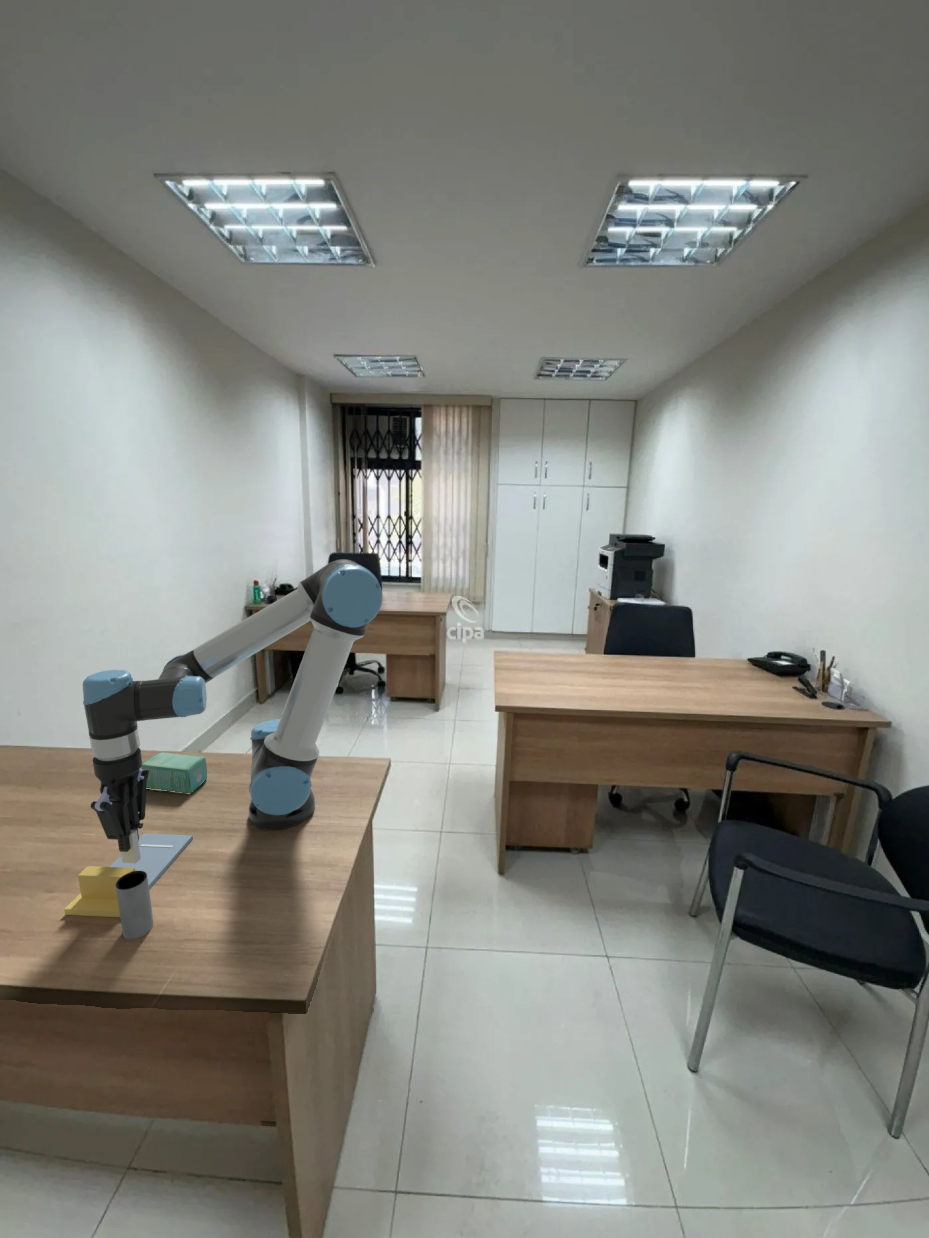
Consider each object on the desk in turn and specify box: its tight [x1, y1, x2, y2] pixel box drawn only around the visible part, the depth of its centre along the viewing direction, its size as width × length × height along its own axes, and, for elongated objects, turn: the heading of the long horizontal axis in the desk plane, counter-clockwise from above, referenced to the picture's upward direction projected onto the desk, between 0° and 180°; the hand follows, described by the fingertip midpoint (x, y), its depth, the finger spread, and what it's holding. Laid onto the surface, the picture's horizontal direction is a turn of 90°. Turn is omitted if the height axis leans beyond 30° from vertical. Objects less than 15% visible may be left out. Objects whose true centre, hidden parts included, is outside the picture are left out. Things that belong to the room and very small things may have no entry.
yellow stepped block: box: [63, 865, 135, 918], centre depth 93 cm, size 11×6×6 cm, turn 88°
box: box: [140, 752, 208, 794], centre depth 133 cm, size 7×14×8 cm, turn 83°
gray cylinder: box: [116, 871, 154, 941], centre depth 87 cm, size 4×4×10 cm
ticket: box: [109, 833, 194, 890], centre depth 104 cm, size 11×16×1 cm
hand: (131, 860), depth 100 cm, fingers closed
